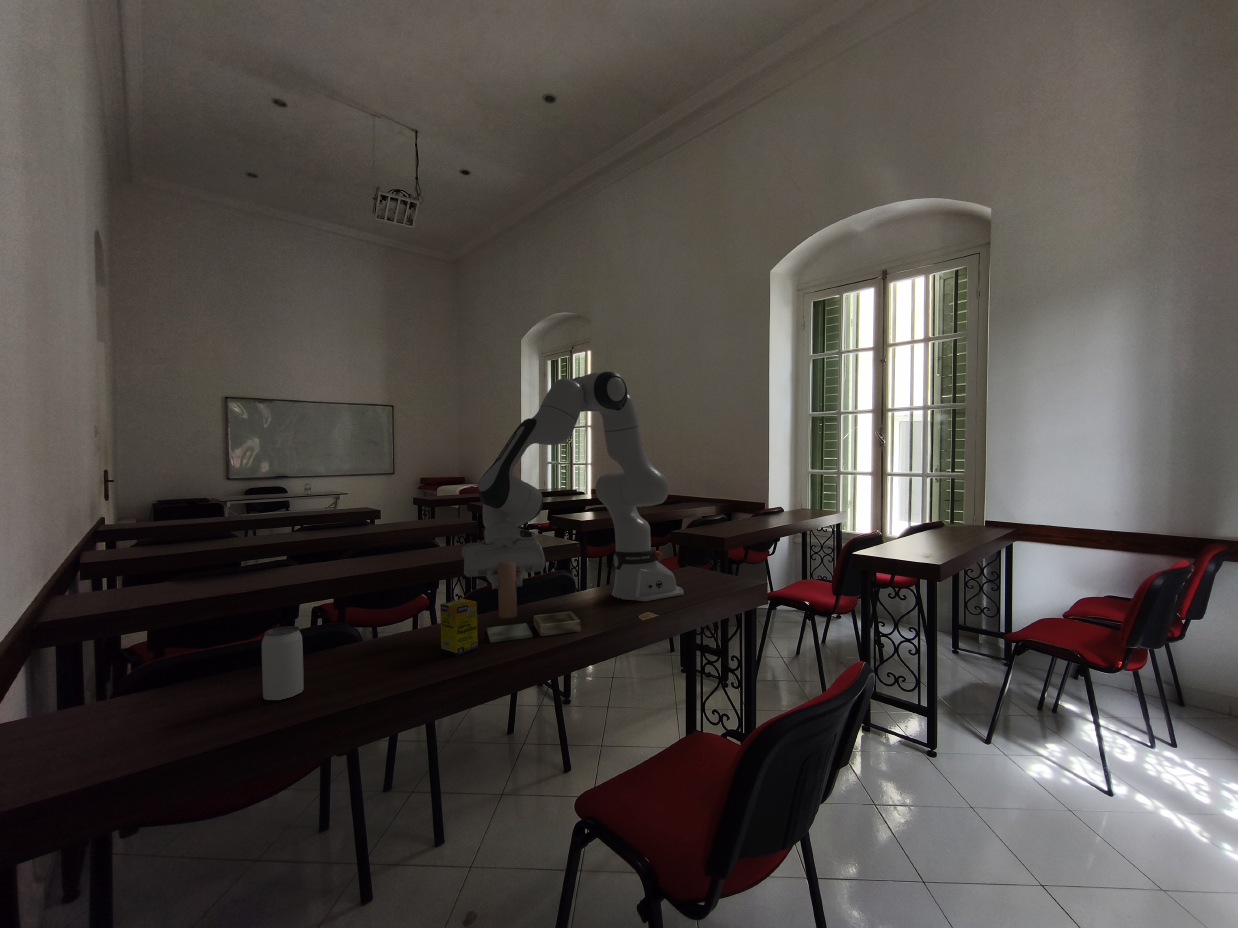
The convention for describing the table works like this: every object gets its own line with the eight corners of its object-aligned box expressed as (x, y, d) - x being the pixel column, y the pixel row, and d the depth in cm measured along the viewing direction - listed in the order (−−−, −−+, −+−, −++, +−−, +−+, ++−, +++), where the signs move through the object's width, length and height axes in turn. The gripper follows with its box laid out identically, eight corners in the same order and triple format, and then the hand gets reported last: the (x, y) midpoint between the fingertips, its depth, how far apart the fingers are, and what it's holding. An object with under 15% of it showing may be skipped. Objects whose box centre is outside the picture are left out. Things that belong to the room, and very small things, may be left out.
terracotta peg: (515, 612, 139) (514, 560, 139) (518, 616, 134) (516, 563, 135) (498, 614, 137) (496, 562, 137) (499, 618, 133) (498, 565, 133)
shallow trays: (571, 620, 146) (571, 611, 146) (580, 631, 137) (580, 621, 137) (486, 630, 139) (486, 620, 139) (490, 642, 130) (490, 631, 130)
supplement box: (457, 656, 121) (455, 607, 121) (440, 651, 124) (439, 603, 124) (478, 649, 125) (477, 601, 125) (462, 644, 129) (461, 598, 129)
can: (282, 687, 106) (280, 625, 106) (311, 688, 105) (310, 625, 105) (254, 701, 100) (252, 635, 100) (285, 703, 99) (283, 636, 99)
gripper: (461, 536, 139) (464, 582, 130) (541, 531, 146) (549, 575, 136) (461, 551, 144) (463, 597, 134) (539, 546, 150) (546, 589, 141)
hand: (507, 586), depth 135 cm, fingers closed on terracotta peg, 4 cm apart
